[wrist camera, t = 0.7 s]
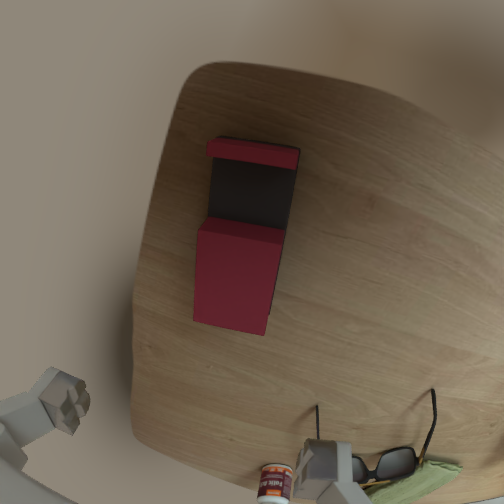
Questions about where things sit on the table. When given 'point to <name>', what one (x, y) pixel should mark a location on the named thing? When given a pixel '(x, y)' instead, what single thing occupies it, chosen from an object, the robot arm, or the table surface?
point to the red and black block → (243, 232)
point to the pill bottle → (275, 484)
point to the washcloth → (414, 483)
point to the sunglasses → (390, 459)
